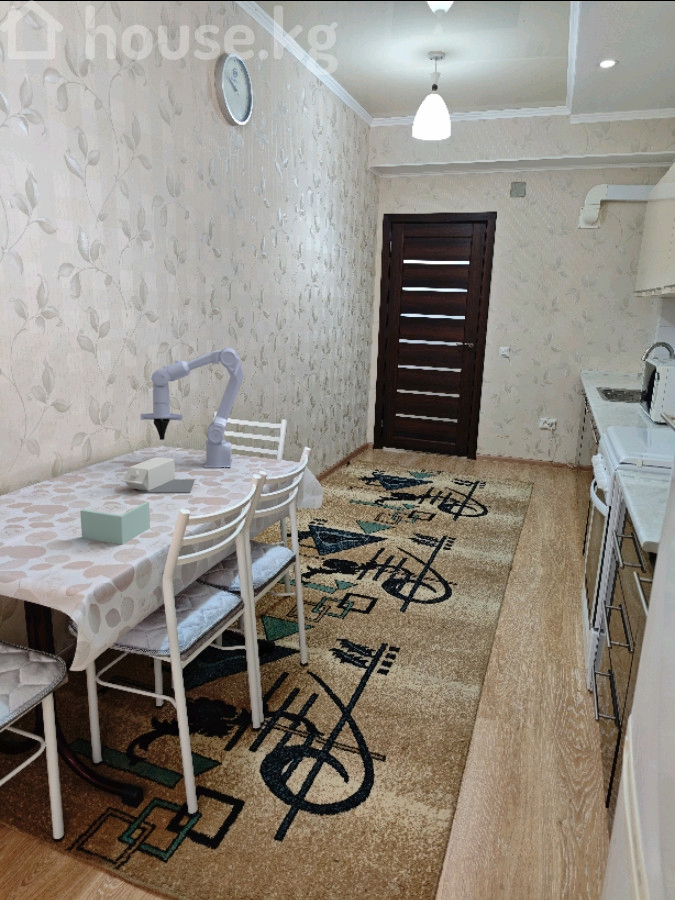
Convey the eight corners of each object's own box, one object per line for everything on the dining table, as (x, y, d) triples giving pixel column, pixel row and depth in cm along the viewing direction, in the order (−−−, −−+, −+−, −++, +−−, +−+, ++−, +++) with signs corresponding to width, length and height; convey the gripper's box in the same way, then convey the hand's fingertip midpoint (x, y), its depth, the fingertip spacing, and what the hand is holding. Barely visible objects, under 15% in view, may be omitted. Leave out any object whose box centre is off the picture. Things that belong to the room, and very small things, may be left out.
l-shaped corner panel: (150, 528, 160) (149, 502, 158) (122, 545, 148) (121, 516, 147) (111, 522, 163) (110, 496, 161) (82, 538, 151) (80, 510, 150)
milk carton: (175, 479, 203) (140, 494, 185) (157, 476, 205) (121, 491, 187) (174, 459, 201) (140, 472, 183) (156, 456, 203) (120, 469, 186)
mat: (194, 480, 203) (194, 479, 203) (190, 493, 190) (190, 491, 190) (146, 480, 201) (146, 479, 201) (138, 493, 188) (138, 492, 187)
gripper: (183, 401, 219) (183, 437, 222) (142, 400, 217) (143, 436, 220) (181, 404, 212) (181, 441, 216) (139, 403, 210) (140, 440, 213)
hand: (162, 439), depth 217 cm, fingers closed
